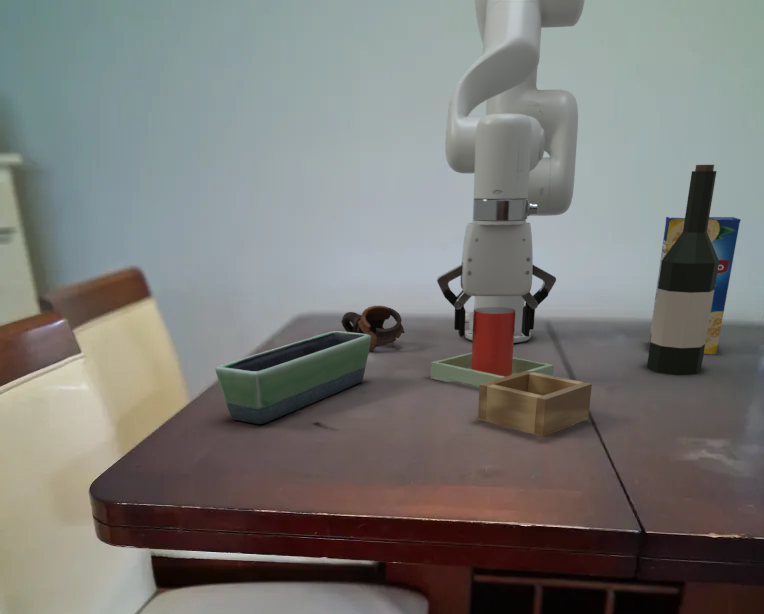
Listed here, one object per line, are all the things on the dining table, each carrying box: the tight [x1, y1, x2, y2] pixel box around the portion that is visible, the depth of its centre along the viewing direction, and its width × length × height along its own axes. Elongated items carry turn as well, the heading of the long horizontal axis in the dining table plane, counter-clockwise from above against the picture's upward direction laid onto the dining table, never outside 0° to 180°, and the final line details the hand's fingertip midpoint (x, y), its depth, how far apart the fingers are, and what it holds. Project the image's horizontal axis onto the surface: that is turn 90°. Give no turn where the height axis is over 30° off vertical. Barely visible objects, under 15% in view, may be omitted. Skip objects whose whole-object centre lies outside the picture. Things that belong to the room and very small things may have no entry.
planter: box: [215, 330, 371, 425], centre depth 104 cm, size 28×7×7 cm, turn 150°
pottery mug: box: [340, 305, 406, 352], centre depth 137 cm, size 12×10×8 cm
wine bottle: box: [646, 164, 719, 376], centre depth 114 cm, size 8×8×30 cm
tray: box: [430, 351, 554, 387], centre depth 114 cm, size 15×12×3 cm
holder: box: [477, 371, 593, 438], centre depth 94 cm, size 10×10×5 cm
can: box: [471, 307, 516, 377], centre depth 112 cm, size 6×6×10 cm
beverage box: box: [648, 216, 742, 355], centre depth 129 cm, size 7×11×22 cm, turn 75°
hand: (493, 334), depth 112 cm, fingers open, 9 cm apart
